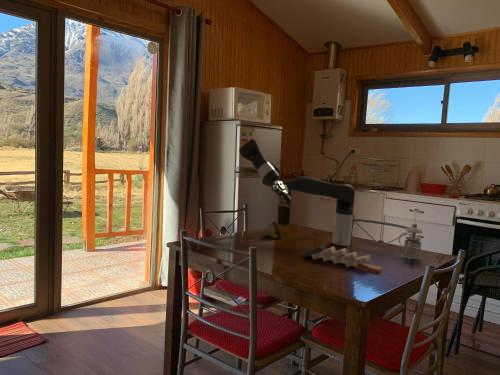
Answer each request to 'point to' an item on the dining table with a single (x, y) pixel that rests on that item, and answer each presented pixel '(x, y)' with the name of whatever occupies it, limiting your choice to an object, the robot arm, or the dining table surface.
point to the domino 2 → (324, 253)
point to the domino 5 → (358, 261)
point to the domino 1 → (313, 251)
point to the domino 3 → (334, 255)
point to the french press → (414, 243)
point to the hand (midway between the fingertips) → (289, 201)
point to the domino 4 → (345, 257)
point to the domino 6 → (369, 268)
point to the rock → (274, 231)
